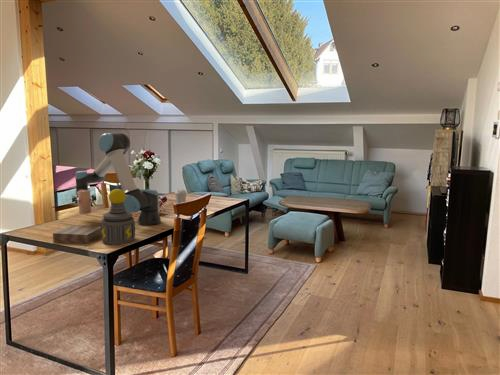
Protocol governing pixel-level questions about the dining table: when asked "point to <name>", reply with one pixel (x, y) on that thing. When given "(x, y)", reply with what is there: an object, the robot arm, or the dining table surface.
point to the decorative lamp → (117, 221)
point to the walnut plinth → (77, 234)
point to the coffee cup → (180, 196)
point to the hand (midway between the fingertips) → (85, 201)
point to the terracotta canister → (84, 201)
